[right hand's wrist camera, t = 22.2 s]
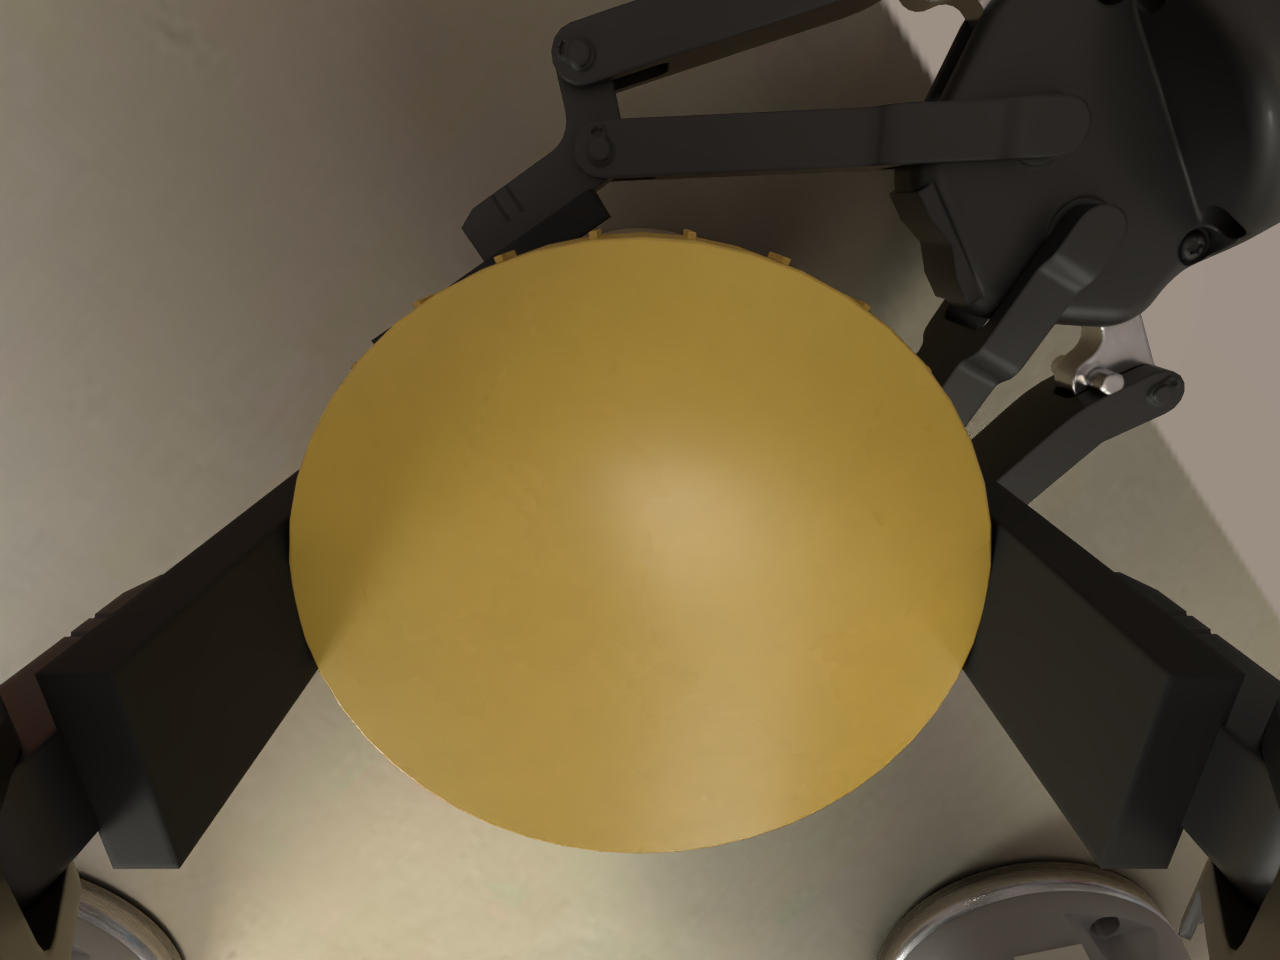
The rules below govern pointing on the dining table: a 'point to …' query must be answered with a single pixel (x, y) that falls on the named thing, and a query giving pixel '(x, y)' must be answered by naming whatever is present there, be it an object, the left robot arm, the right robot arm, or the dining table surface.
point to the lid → (640, 543)
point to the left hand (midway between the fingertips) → (516, 497)
